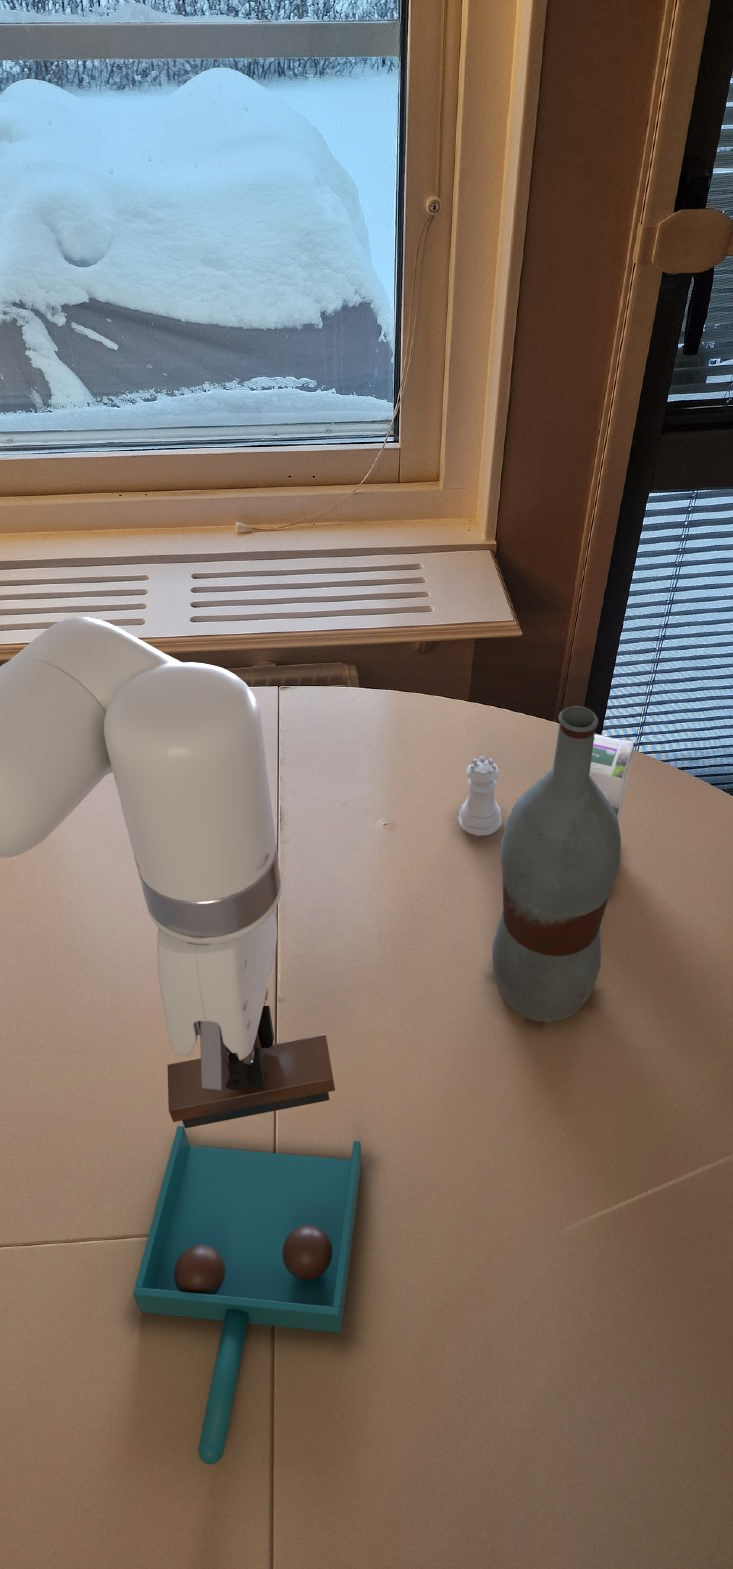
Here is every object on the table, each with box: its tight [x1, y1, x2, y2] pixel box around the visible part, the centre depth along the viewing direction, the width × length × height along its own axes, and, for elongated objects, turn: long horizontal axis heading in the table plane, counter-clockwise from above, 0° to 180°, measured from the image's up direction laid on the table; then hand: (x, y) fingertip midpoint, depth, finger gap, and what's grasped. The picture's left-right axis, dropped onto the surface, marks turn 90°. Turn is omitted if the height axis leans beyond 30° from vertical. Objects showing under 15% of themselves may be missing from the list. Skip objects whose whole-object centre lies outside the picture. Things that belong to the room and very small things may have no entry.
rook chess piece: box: [457, 755, 503, 837], centre depth 104 cm, size 4×4×8 cm
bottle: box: [491, 705, 622, 1023], centre depth 81 cm, size 9×9×30 cm
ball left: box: [174, 1245, 225, 1295], centre depth 72 cm, size 4×4×4 cm
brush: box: [166, 1032, 336, 1129], centre depth 68 cm, size 11×4×10 cm, turn 100°
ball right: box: [282, 1226, 332, 1280], centre depth 72 cm, size 4×4×4 cm
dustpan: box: [132, 1125, 363, 1466], centre depth 71 cm, size 21×14×3 cm, turn 174°
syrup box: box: [589, 733, 635, 824], centre depth 97 cm, size 6×6×14 cm
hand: (245, 1061), depth 69 cm, fingers closed on brush, 2 cm apart
